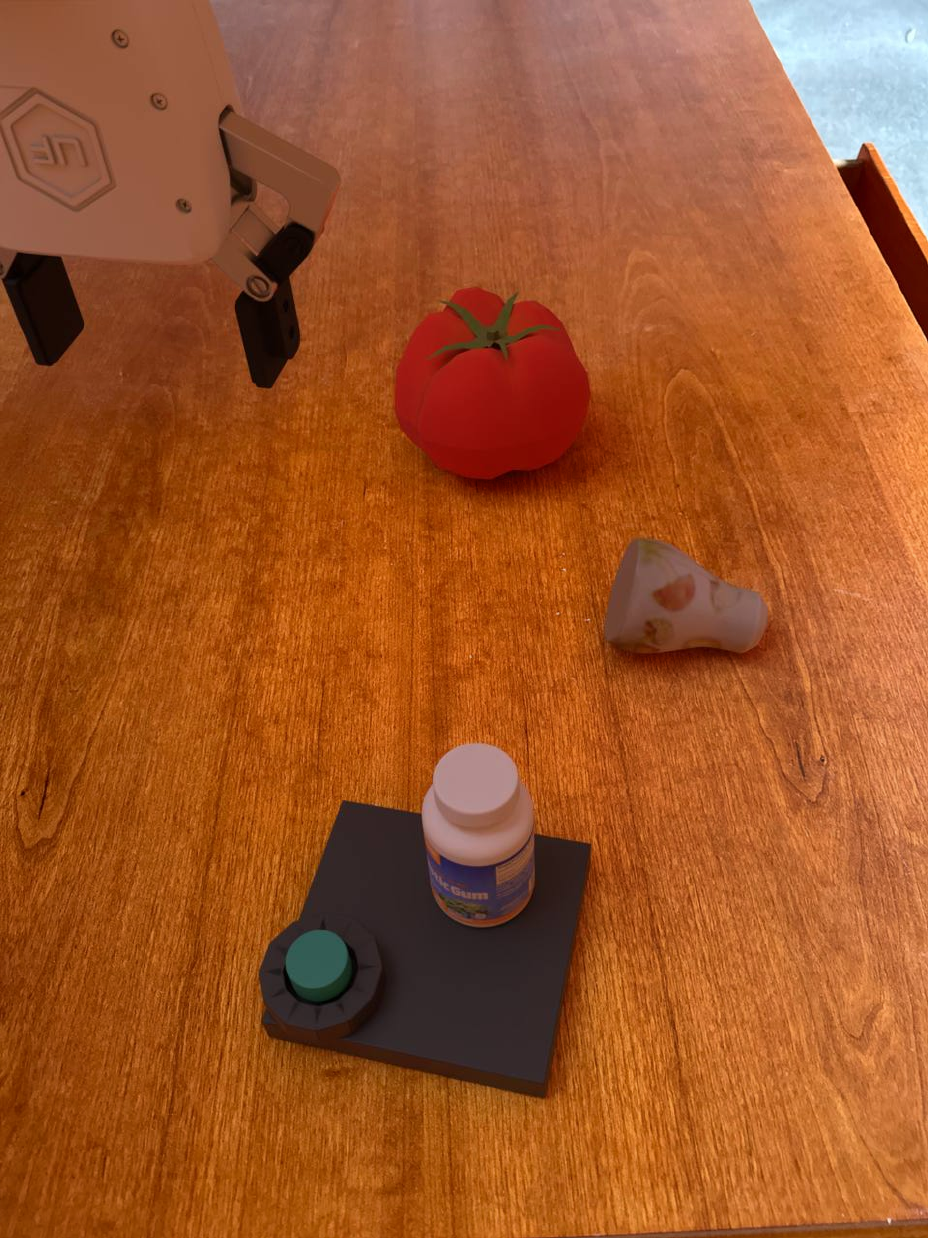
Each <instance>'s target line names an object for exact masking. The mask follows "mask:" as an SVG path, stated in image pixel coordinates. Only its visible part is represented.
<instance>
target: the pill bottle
mask: <svg viewBox="0 0 928 1238" xmlns="http://www.w3.org/2000/svg"><path fill="white" fill-rule="evenodd" d="M519 776H520V775H519V771H518V768H517V765H516V764H515V762H514V760H513V759H512V757H511V756H510V755H509V754H507V752H505V751H504V750H503V749H501V748H499V747H498V746H495V745H492V744H489V743H483V742H470V743H464V744H461V745H458V746H456V747H453V748H452V749H451V750H449V751H447V752H446V753H445V754H444V755H442V757H440V759H439V760H438V762H437V764H436V766H435V768H434V770H433V774H432V784H431V785H430V787H429V788H428V790H427V791H426V793H425V795H424V798H423V803H422V807H421V814H422V823H423V830H424V838H425V844H426V851H427V858H428V866H429V873H430V881H431V886H432V891H433V894H434V897H435V899H436V901H437V903H438V905H439V906H440V908H441V909H442V910H443V911H444V912H445V913H446V914H447V915H448V916H449V917H451V918H452V919H453V920H455V921H457V922H459V923H461V924H464V925H467V926H472V927H492V926H496V925H499V924H502V923H504V922H507V921H508V920H510V919H512V918H513V917H515V916H516V915H517V914H519V913H520V912H521V911H522V910H523V908H524V907H525V906H526V904H527V903H528V901H529V899H530V897H531V894H532V891H533V888H534V882H535V864H534V834H535V812H534V811H535V810H534V803H533V799H532V796H531V794H530V792H529V790H528V788H527V786H526V785H525V783H524V782H523V781H522V780H521V779H520V777H519Z"/></svg>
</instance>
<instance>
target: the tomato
mask: <svg viewBox="0 0 928 1238" xmlns="http://www.w3.org/2000/svg"><path fill="white" fill-rule="evenodd" d="M519 293H520V290H518V291H517V292H516V293H514V294H513V295H511V296H510V297H509V298H508V299H507V300H506V303H505V301H504V300H503V299H502V297H501V295H498V294H496V293H493V292H491V291H488V290H486V289H483V288H482V287H479V286H477V285H476V286H470V287H467V288H461V289H457V290H455V291H454V293H453V295H452V296H451V298H450V299H449V301H445V300H441V299H437V301H438V302H440V304H444V305H445V306H444V308H443V309H442V311H437V312H430V313H428V314H427V316H426V317H424V319H422V321H421V322H420V323H419V324H418V325H417V326H416V328H414V330H413V332H412V334H411V336H410V339H409V340H408V342H407V345H406V346H405V348H404V351H403V353H402V355H401V358H400V360H399V362H398V364H397V367H396V369H395V382H394V386H395V387H394V413H395V417H396V419H397V422H398V424H399V427H400V430H401V431H402V432H403V434H404V435H405V436H406V437H407V438H408V439H409V440H410V441H411V443H413V444H414V445H415V446H416V447H418V448H419V449H420V450H422V451H423V452H424V453H426V454H427V456H428V457H429V458H430V460H431V461H432V462H433V463H434V465H435V466H436V467H437V468H438V469H441V470H444V471H447V472H450V473H452V474H454V475H455V474H456V475H458V476H461V477H464V478H466V479H477V480H487V481H488V480H493V479H495V478H497V477H500V476H502V475H504V474H506V473H508V472H511V471H526V472H527V471H528V472H529V471H530V472H531V471H534V470H538V469H541V468H542V467H544V466H546V465H548V464H549V465H550V464H551V463H553V462H555V461H556V460H558V459H559V458H561V457H562V456H563V455H564V454H565V453H566V451H568V450H569V448H570V447H571V446H572V445H573V444H574V443H575V440H576V439H577V438H578V436H579V434H580V433H581V431H582V429H583V426H584V424H585V420H586V417H587V415H588V410H589V406H590V402H591V401H590V400H591V396H592V394H591V393H592V392H591V387H590V380H589V373H588V371H587V370H586V368H585V367H584V365H583V363H582V362H581V360H580V359H579V357H578V355H577V353H576V350H575V347H574V344H573V342H572V340H571V338H570V335H569V333H568V331H567V329H566V327H565V325H564V323H563V321H561V320H560V319H559V317H557V316H556V315H555V314H554V312H552V311H551V309H549V308H548V307H546V306H545V305H543V304H542V303H540V302H539V301H537V300H521V301H518V302H515V300H516V299H517V297H518V296H519Z"/></svg>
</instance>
